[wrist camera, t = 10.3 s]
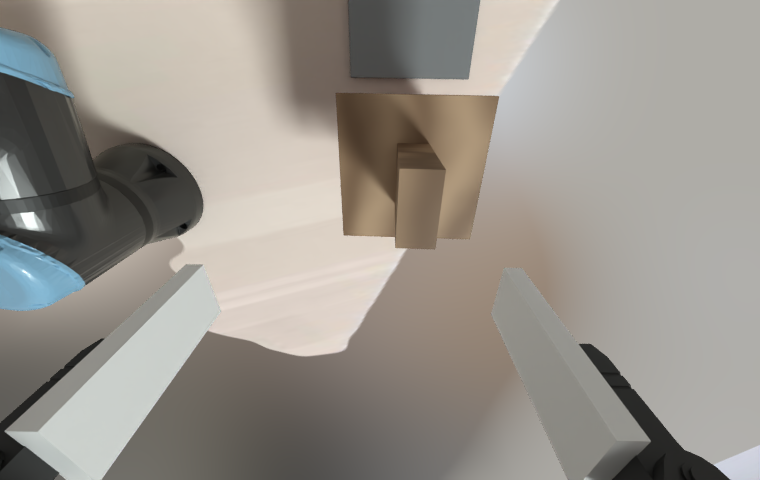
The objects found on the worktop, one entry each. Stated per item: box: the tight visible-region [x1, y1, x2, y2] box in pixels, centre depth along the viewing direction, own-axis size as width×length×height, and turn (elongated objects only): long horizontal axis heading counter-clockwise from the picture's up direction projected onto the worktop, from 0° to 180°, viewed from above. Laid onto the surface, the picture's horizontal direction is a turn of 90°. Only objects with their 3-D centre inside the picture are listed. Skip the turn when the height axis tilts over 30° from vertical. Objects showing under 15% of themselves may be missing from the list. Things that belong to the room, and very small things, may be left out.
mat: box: [348, 0, 480, 79], centre depth 32 cm, size 15×15×1 cm
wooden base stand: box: [336, 93, 499, 249], centre depth 24 cm, size 14×14×10 cm
